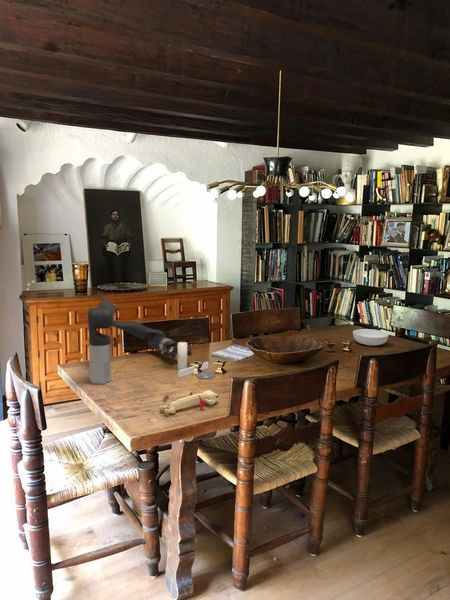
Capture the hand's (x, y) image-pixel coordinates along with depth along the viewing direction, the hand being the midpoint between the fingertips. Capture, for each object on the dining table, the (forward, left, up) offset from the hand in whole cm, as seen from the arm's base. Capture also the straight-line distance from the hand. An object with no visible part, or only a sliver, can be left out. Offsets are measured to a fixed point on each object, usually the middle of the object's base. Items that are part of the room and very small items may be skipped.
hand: (182, 355), depth 238 cm
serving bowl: (+58, -109, -7) cm, 124 cm away
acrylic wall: (-5, -6, -7) cm, 10 cm away
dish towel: (+28, -27, -8) cm, 39 cm away
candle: (0, 0, -7) cm, 7 cm away
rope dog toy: (-48, -8, -7) cm, 49 cm away
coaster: (-10, -12, -7) cm, 17 cm away
